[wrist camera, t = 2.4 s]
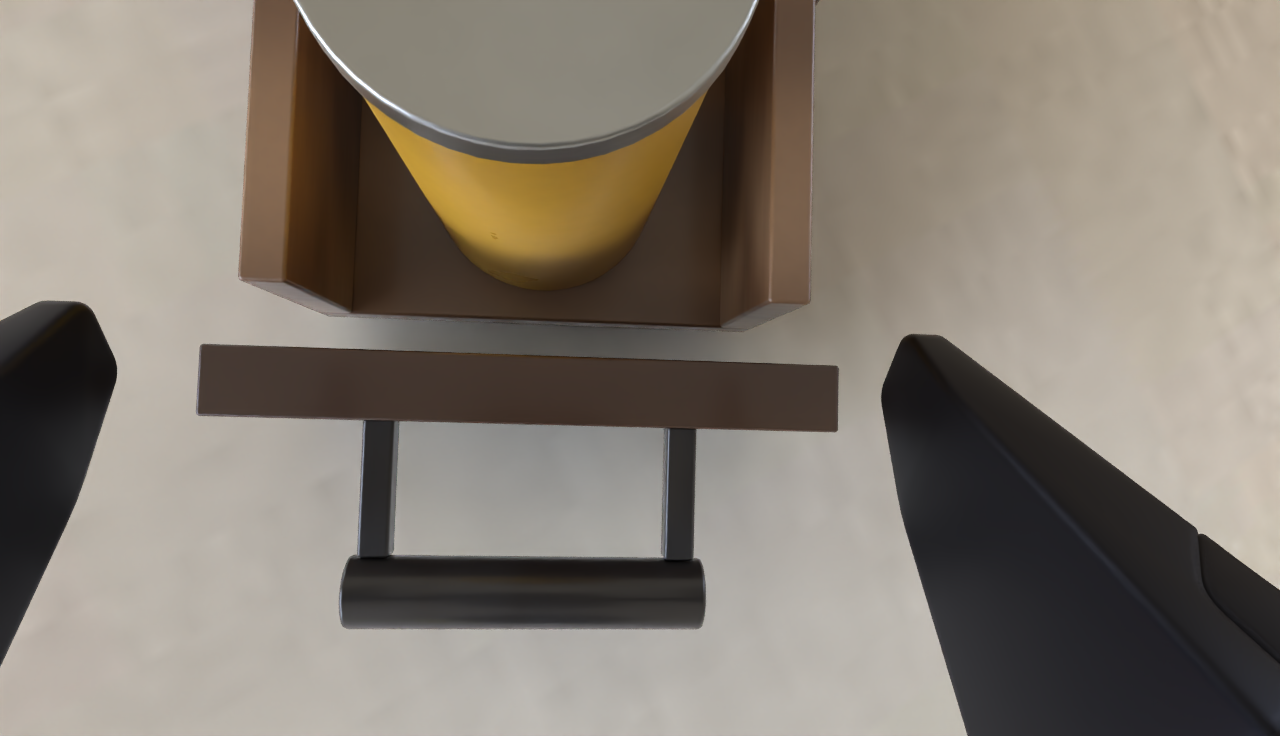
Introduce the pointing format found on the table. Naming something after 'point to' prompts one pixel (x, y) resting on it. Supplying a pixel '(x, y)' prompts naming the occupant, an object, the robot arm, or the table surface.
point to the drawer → (524, 320)
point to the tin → (534, 114)
